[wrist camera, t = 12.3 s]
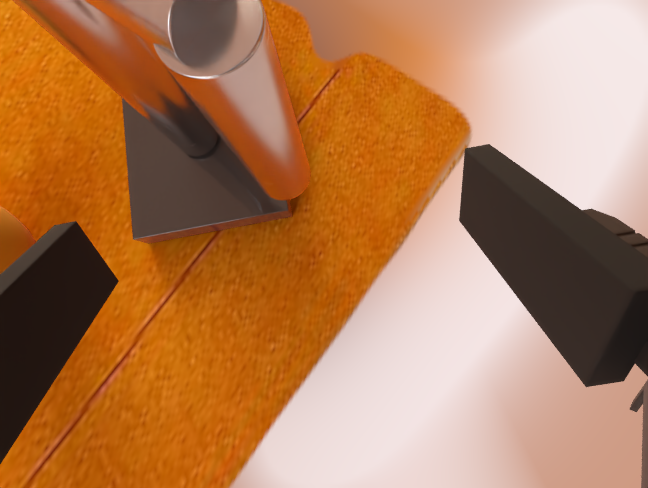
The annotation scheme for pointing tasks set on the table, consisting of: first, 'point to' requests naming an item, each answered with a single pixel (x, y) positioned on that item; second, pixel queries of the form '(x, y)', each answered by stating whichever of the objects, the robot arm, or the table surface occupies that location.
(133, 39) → the spout
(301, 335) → the table surface
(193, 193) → the tap base
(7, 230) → the apple
